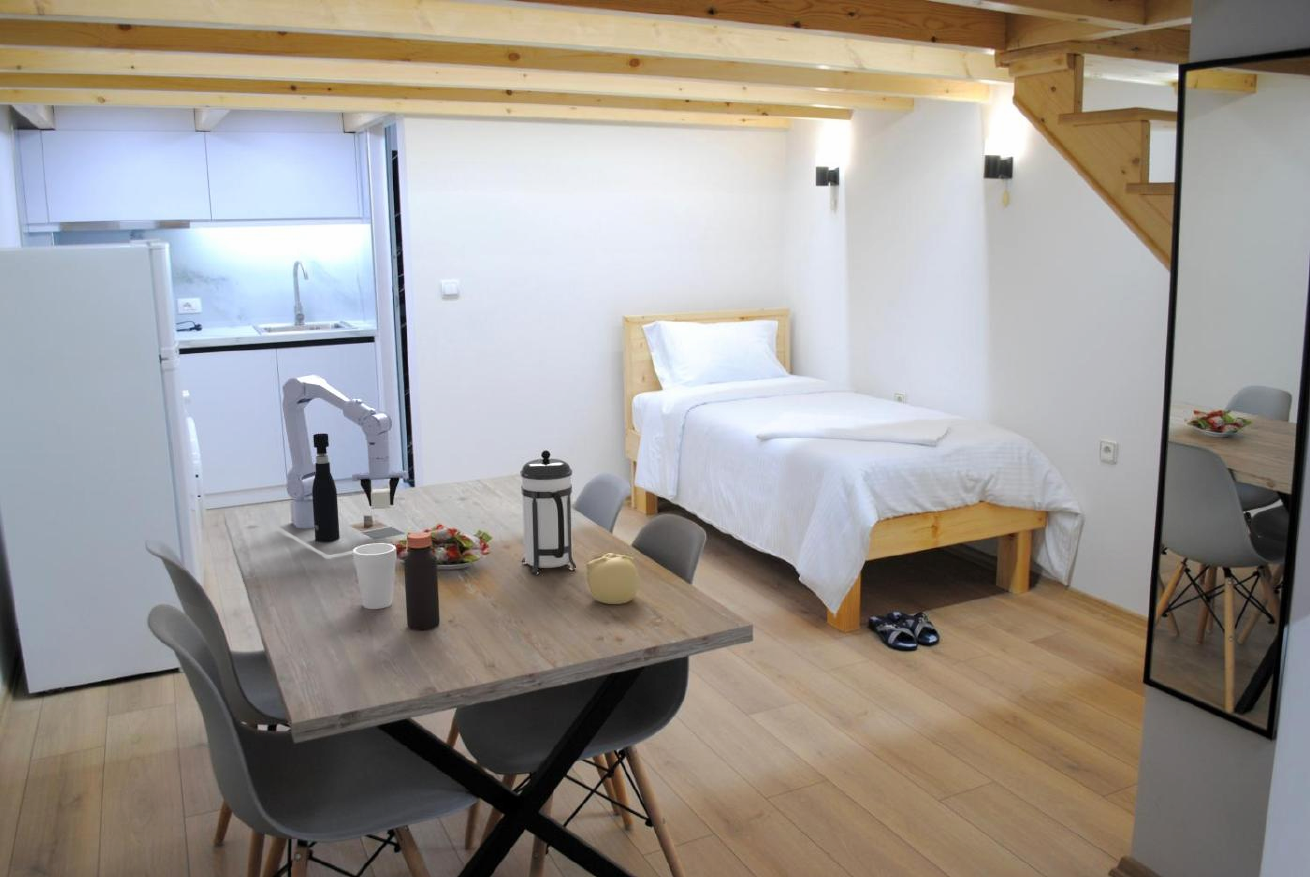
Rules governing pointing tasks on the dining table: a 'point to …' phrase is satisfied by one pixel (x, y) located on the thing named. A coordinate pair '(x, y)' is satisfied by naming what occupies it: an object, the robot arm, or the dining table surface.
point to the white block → (380, 498)
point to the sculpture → (613, 578)
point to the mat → (383, 533)
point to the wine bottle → (324, 495)
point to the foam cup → (375, 573)
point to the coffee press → (547, 513)
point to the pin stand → (368, 524)
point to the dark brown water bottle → (421, 583)
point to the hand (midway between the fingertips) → (381, 504)
